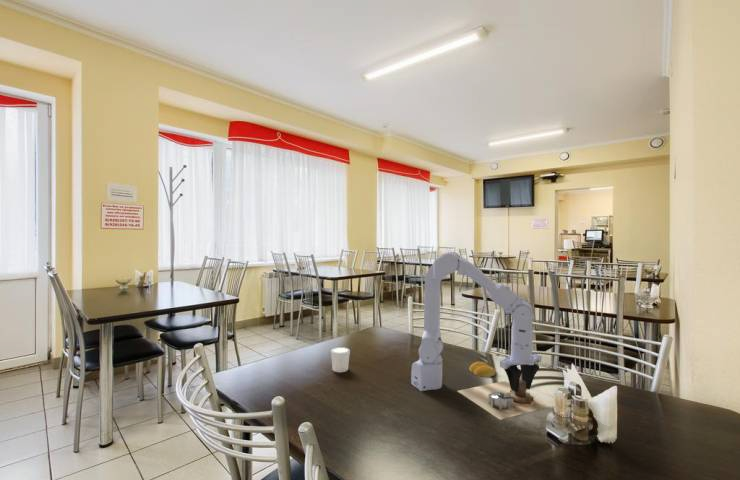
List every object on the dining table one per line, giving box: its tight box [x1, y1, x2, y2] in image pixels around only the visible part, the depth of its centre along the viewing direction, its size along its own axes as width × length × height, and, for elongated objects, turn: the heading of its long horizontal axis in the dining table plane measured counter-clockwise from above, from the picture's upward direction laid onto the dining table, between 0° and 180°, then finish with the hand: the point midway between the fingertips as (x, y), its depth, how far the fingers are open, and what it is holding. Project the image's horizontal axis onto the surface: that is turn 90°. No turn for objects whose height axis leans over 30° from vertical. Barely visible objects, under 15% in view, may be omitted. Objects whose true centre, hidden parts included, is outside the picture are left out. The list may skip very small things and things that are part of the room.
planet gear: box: [507, 379, 533, 405], centre depth 103 cm, size 7×7×5 cm
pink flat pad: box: [513, 400, 534, 407], centre depth 103 cm, size 8×8×1 cm
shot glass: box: [330, 346, 351, 373], centre depth 127 cm, size 7×7×7 cm
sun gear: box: [488, 391, 513, 411], centre depth 100 cm, size 7×7×3 cm
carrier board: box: [457, 380, 554, 421], centre depth 104 cm, size 20×18×1 cm
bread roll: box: [468, 361, 496, 378], centre depth 124 cm, size 8×9×4 cm
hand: (520, 389), depth 103 cm, fingers open, 4 cm apart
